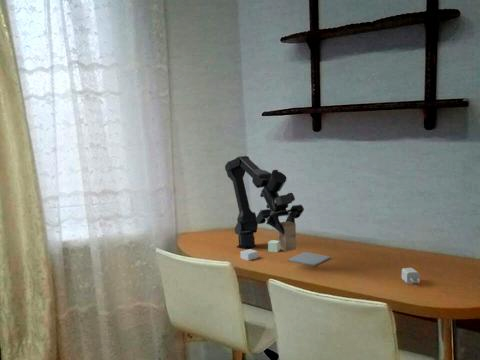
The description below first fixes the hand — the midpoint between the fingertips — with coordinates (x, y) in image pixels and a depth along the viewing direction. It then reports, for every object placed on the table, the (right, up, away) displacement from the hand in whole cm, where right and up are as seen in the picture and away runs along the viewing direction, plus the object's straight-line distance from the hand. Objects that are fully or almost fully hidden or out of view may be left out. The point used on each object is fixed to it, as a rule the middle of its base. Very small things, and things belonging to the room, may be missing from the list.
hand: (289, 232), depth 162 cm
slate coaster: (+9, -12, +10) cm, 18 cm away
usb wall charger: (+38, -14, -19) cm, 45 cm away
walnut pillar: (0, -6, +2) cm, 7 cm away
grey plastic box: (-14, -12, +16) cm, 25 cm away
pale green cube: (-4, -11, +25) cm, 27 cm away
